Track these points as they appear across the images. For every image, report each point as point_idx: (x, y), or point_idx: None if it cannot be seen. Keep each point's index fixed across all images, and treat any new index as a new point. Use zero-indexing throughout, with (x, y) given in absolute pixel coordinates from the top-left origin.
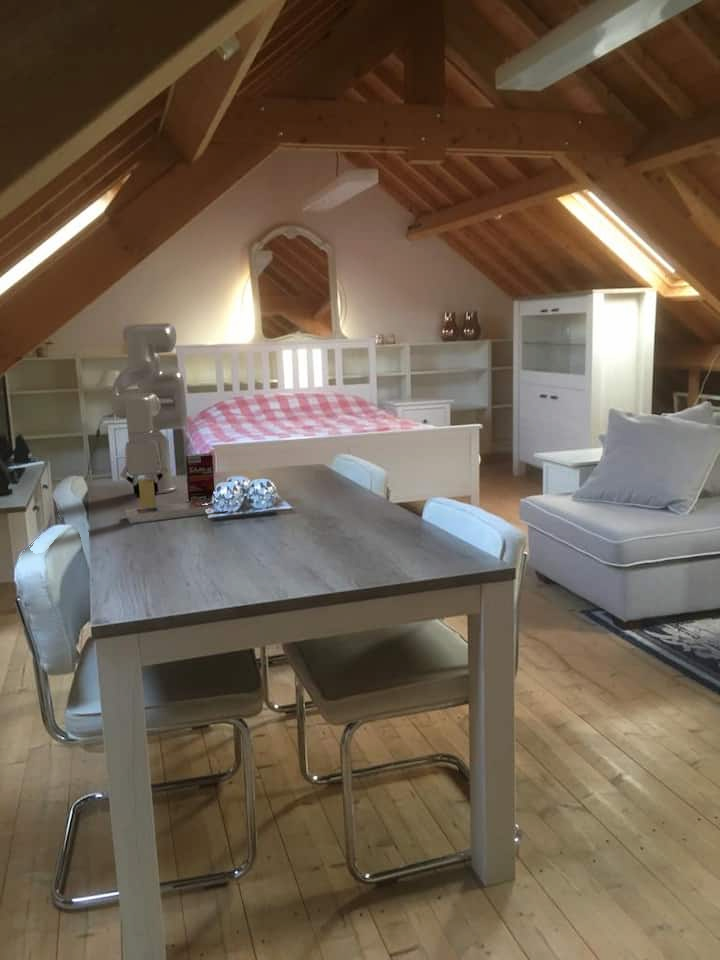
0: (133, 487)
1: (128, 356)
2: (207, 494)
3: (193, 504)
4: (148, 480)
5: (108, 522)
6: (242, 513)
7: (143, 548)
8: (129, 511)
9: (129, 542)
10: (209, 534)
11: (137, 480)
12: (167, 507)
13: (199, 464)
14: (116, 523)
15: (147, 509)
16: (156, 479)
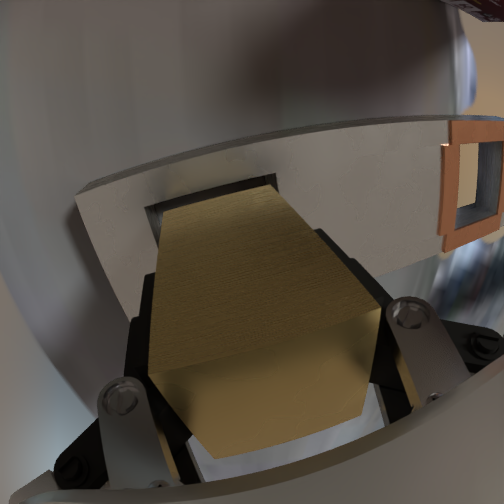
0: (126, 363)
1: None
2: (491, 12)
3: (449, 198)
4: (324, 393)
5: (36, 269)
6: (499, 247)
7: (241, 475)
8: (112, 254)
9: (205, 460)
10: (373, 416)
11: (165, 387)
12: (343, 207)
13: None
14: (79, 297)
15: (217, 185)
16: (402, 393)
